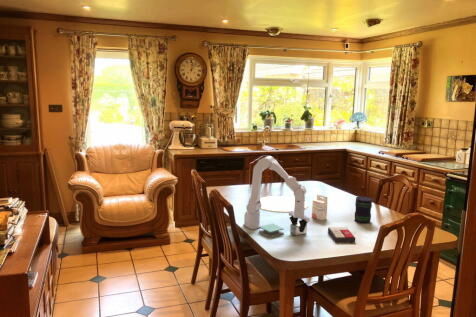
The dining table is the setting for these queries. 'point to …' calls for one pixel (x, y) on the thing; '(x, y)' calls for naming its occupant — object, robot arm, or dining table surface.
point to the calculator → (341, 235)
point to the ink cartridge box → (319, 208)
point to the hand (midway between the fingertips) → (298, 230)
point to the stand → (271, 230)
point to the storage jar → (363, 210)
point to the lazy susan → (278, 204)
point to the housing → (296, 229)
